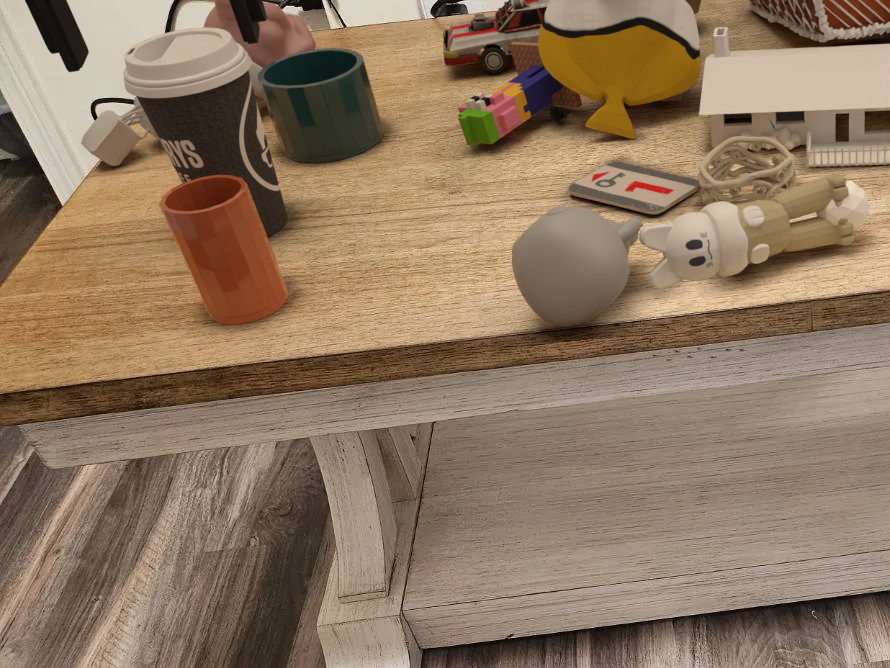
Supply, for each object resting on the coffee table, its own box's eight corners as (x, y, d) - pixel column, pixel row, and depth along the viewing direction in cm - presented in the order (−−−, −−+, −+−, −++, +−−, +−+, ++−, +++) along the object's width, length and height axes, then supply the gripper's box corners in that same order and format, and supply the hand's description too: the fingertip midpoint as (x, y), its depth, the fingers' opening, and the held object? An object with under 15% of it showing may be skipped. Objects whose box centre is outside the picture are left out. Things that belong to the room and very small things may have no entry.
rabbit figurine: (886, 240, 83) (663, 302, 79) (831, 226, 92) (626, 282, 88) (877, 166, 81) (647, 227, 77) (821, 159, 90) (610, 213, 85)
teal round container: (302, 172, 103) (276, 96, 98) (270, 140, 109) (244, 67, 104) (399, 141, 106) (378, 67, 101) (362, 112, 112) (341, 40, 107)
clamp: (283, 93, 116) (254, 27, 111) (297, 102, 114) (268, 35, 109) (99, 175, 109) (59, 108, 104) (111, 186, 107) (70, 118, 102)
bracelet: (686, 146, 92) (708, 185, 86) (777, 124, 93) (806, 162, 87) (693, 191, 95) (715, 232, 89) (782, 170, 96) (810, 209, 90)
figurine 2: (566, 45, 104) (480, 100, 97) (582, 104, 108) (500, 162, 101) (513, 41, 107) (426, 95, 101) (530, 99, 111) (448, 154, 105)
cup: (221, 333, 83) (171, 222, 77) (199, 301, 86) (150, 192, 80) (299, 305, 85) (256, 194, 79) (274, 274, 89) (232, 167, 83)
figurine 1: (322, 94, 116) (282, -30, 108) (214, 107, 115) (166, -16, 107) (332, 64, 122) (296, -56, 114) (231, 76, 122) (187, -43, 114)
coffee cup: (233, 196, 100) (164, 22, 90) (326, 203, 97) (266, 24, 87) (168, 249, 93) (85, 67, 83) (266, 257, 91) (193, 71, 81)
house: (694, 186, 94) (686, 100, 89) (720, 79, 111) (714, 1, 106) (995, 177, 92) (1004, 87, 86) (974, 68, 108) (980, -12, 103)
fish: (562, -135, 95) (731, -90, 98) (554, -56, 108) (704, -19, 111) (528, 87, 95) (700, 125, 97) (524, 141, 107) (677, 173, 110)
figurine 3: (627, 164, 82) (553, 195, 72) (688, 249, 84) (624, 291, 74) (556, 227, 87) (477, 264, 77) (615, 307, 88) (545, 354, 78)
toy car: (447, 55, 122) (429, -19, 116) (609, 32, 123) (599, -43, 118) (448, 81, 116) (429, 4, 111) (618, 56, 118) (608, -21, 112)
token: (654, 212, 90) (561, 187, 95) (654, 217, 90) (561, 192, 95) (705, 180, 94) (614, 157, 99) (705, 185, 95) (614, 162, 99)
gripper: (-209, -295, 48) (-6, 99, 60) (201, -340, 51) (319, 47, 62) (-156, -312, 54) (21, 52, 65) (213, -352, 56) (320, 6, 68)
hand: (167, 49), depth 64 cm, fingers open, 9 cm apart
